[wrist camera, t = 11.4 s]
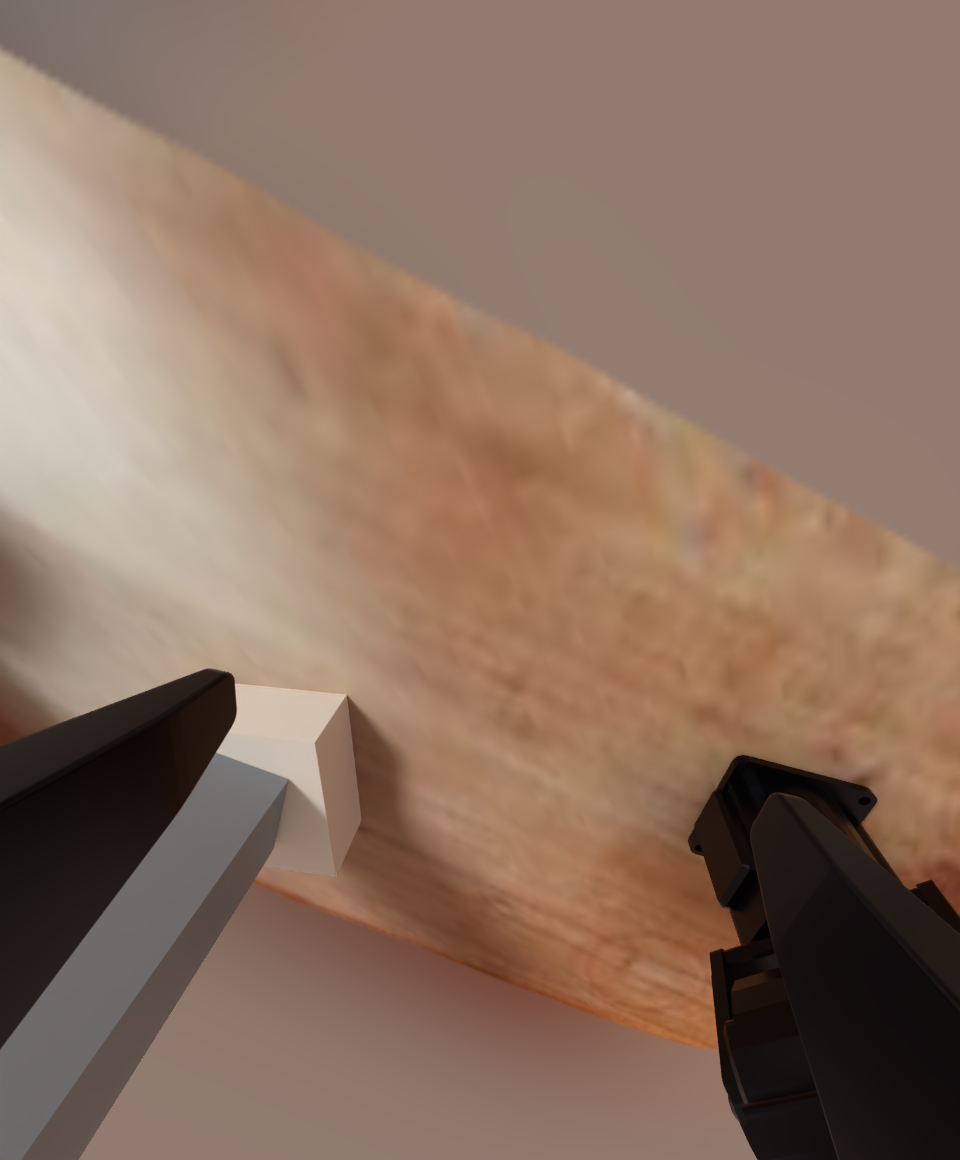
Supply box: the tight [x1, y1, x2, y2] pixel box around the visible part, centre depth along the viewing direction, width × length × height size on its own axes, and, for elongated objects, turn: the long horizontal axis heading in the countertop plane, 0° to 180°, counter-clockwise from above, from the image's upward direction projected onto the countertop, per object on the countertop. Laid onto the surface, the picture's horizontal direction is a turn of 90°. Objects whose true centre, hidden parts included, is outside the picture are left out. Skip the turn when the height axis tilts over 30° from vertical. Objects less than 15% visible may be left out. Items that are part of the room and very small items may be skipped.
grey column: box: [0, 753, 289, 1160], centre depth 18 cm, size 5×5×13 cm
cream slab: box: [216, 684, 362, 878], centre depth 26 cm, size 9×9×4 cm
